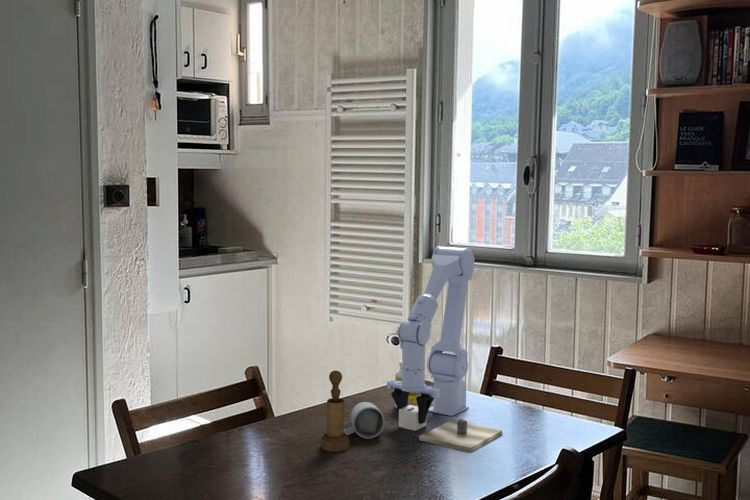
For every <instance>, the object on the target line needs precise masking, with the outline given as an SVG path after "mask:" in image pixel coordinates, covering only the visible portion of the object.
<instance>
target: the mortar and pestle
mask: <svg viewBox="0 0 750 500" xmlns="http://www.w3.org/2000/svg"><path fill="white" fill-rule="evenodd" d="M328 380H329V382H330V384H331V385H332V386H331V387H332V388H331V389H330V396H331V397H330V398H328V399H327V400H326V402H327V403H326V407H327V408H326V433H324V434H323V435H322V436H321V437H320V447H321V449H322V450H324V451H326V452H336V453H337V452H342V451H343V452H344V451H346V450H348V449H349V447H350V437H349V435H346V434H345V433H343V432H344V423H345V421H344V420H345V399H343V398H340V395H341V391H342V390H341V389H340V388H339V386H340V384H341V382H342V380H343V374H342V372H341V371H339V370H332V371H331V372H330V373H329V374H328Z"/></svg>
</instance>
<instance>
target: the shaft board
mask: <svg viewBox="0 0 750 500" xmlns="http://www.w3.org/2000/svg"><path fill="white" fill-rule="evenodd" d="M502 435H503V430H502V429H498V428H492V427H487V426H483V425H478V424H473V423H469V422H468V420H465V419H458V420H455V419H451V420H449V421H447V422H445V423H443V424H442V425H439V426H437V427H435V428H433V429H431V430H429V431H427V432H425V433H422V434H420V435H419V436H418V440H419V441H422V442H425V443H430V444H434V445H439V446H443V447H447V448H451V449H456V450H460V451H464V452H469V453H472V452H474V451H475V450H477V449H479V448H480V447H483V446H485V445H486V444H488V443H489V442H491V441H493V440H495V439H496V438H498V437H500V436H502Z"/></svg>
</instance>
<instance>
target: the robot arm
mask: <svg viewBox="0 0 750 500" xmlns="http://www.w3.org/2000/svg"><path fill="white" fill-rule="evenodd" d="M431 267H432V270H431V273H430V276H429V279H428V281H427V285H426V286H425V290H424V293H423V294H420V295H418V296H417V298H416V300H415V302H414V304H413V306H412V309H411V311H410V312H409V314H408V317H407V319H406V320H403V321H402V322H401V323H400V324H399V327H398V331H397V338H398V340H399V344H400V346H399V347H400V350H401V352H402V353H401V357H402V358H401V360H402V381H396V380H393V379H390V380H388V381H387V382H386V389H387V390H392V389H393V391H392V392H391V393H390V394H391V397H392V398H393V400H394V404H395V403H396V406H397V408H396V409H397V413H399V409H401V408H404V407H406V406H407V404H408V397H409V393H410V392H411V393H416V394H420V395H419V396H418V397H416V401H417V405H418V422H419V424H422V423H425V420H426V421H427V415H428V412H431V413H436V414H441V415H445V416H450V417H454V416H455V415H457V414H459V413H461V412H463V411H466V410H468V409H469V408H470V406H468V405H467V383H466V380H465V379H464V378H465V376H466V375H467V373H468V370H469V361H468V356H469V355H468V351H467V349H466V348H465V347H464V346H463V345H462V344H461V343H460V341H461V335H462V334H461V333H462V327H463V319H464V314H465V306H466V300H467V292H468V284H469V282H470V281H471V280H472V278H473V275H474V268H475V255H474V253H473V251H472V249H470V247H453V246H443V245H437V246H436V247H435V248H434V250H433V252H432V256H431ZM447 282H448V284H447V285H448V286H447V294H446V299H445V307H444V314H443V321H442V326H441V335H440V340H439V341H437V342H436V343H435V344H433V345H432V346H431V348H430V349H431V350H430V352H429V355H428V358H427V360H426V344H427V343H428V342H429V339H430V338H431V329H432V321H433V319H434V316H435V314H436V312H437V310H438V308H439V303H438V301H437V299H438V297H439V296H440V294H441V293H442V290H443V289H444V287H445V285H446V283H447ZM446 352H448V353H446ZM452 353H453V354H452ZM426 368H427V371H428V373H429V374H430V375H431V376H430V377H431V378H432V379H433V386H431V385H427V384H425V383H426V382H425V377H426V376H425V373H426ZM431 405H432V406H431Z"/></svg>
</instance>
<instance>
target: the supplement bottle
mask: <svg viewBox="0 0 750 500" xmlns="http://www.w3.org/2000/svg"><path fill="white" fill-rule="evenodd" d="M395 380H396V381H402V359H401V360H399V369H397V370H396V371H395ZM418 396H421V394H416V393H411V392H410V393H409V397H408V404H407V406H408V405H413V406H417V407H418V405H417V401H416V397H418ZM394 406H395V408H396V409H397V406H396V403H395V402H394Z"/></svg>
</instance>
